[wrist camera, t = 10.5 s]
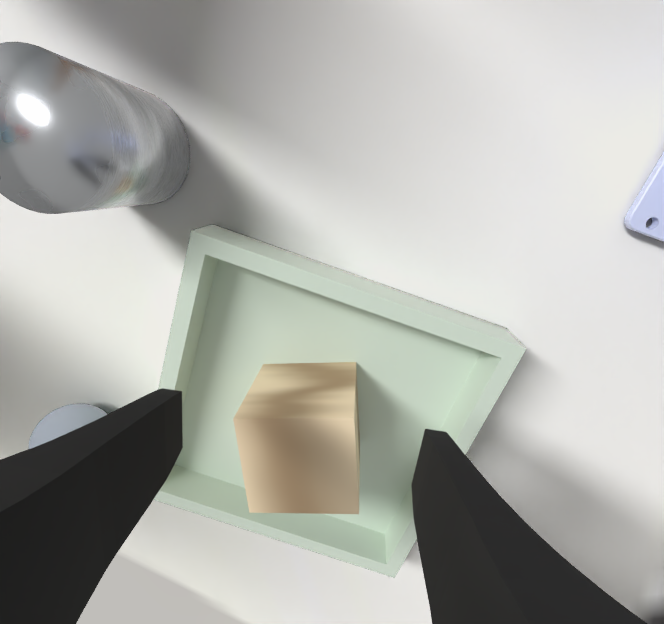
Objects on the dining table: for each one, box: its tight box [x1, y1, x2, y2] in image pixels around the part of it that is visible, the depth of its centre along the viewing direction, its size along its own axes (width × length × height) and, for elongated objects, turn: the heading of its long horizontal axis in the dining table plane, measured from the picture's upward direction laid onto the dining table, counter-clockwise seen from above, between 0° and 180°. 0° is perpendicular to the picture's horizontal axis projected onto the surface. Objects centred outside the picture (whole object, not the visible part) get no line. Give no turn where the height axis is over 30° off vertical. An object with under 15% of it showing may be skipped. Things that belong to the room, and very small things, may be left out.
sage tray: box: [153, 225, 526, 578], centre depth 20 cm, size 16×16×2 cm
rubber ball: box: [29, 404, 107, 449], centre depth 21 cm, size 4×4×4 cm
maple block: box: [233, 362, 360, 514], centre depth 19 cm, size 5×5×5 cm
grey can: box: [0, 42, 190, 214], centre depth 15 cm, size 5×5×6 cm
